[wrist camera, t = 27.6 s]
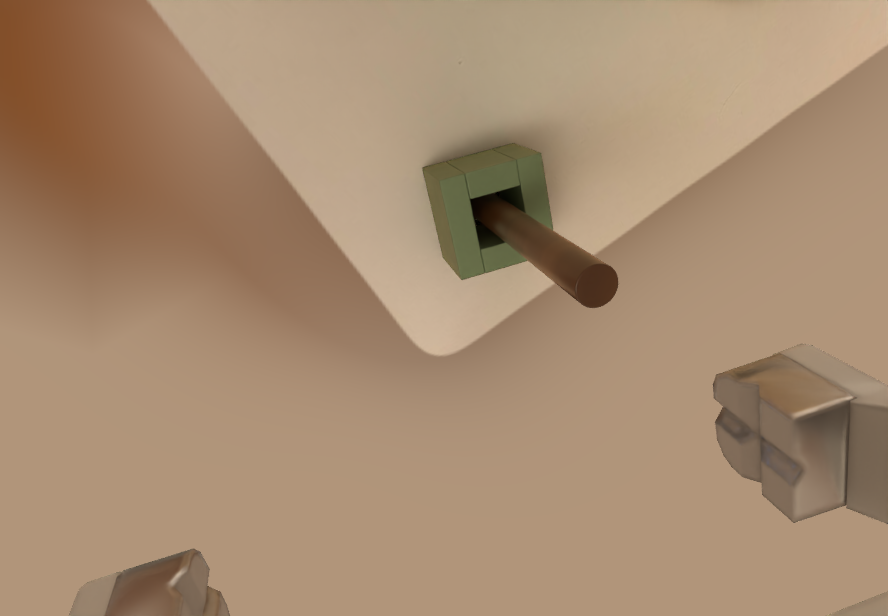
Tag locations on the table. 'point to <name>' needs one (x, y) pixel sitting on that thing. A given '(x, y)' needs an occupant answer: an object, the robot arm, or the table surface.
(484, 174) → the holder
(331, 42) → the table surface
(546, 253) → the stick
